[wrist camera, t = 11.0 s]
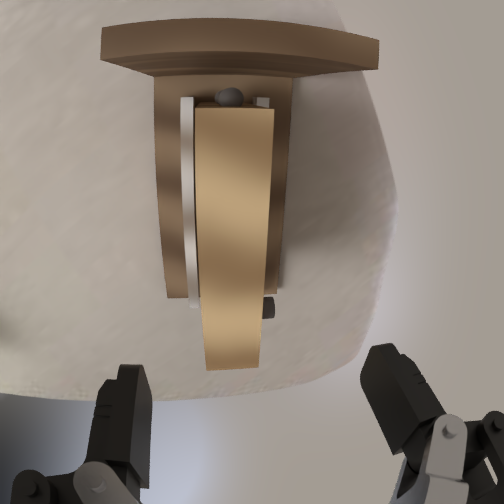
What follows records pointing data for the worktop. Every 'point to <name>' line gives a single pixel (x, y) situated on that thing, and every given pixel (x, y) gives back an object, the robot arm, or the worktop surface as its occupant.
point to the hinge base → (204, 90)
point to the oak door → (233, 226)
